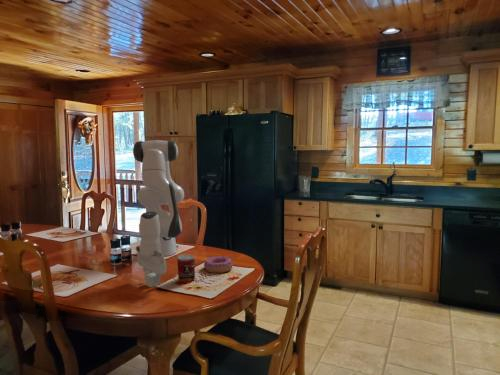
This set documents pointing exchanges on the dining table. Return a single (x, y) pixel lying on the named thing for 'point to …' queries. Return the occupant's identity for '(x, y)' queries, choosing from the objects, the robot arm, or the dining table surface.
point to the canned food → (186, 268)
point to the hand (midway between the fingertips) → (152, 279)
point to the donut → (218, 264)
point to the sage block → (151, 280)
